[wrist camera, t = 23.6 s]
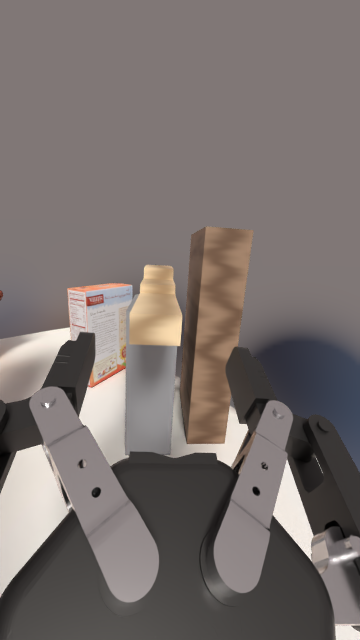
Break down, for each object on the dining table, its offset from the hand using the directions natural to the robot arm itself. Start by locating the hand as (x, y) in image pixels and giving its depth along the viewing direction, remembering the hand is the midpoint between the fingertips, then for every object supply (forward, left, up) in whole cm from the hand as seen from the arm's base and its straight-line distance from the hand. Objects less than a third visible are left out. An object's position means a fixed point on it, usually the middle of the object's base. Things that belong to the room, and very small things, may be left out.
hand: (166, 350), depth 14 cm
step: (-1, +22, -23) cm, 32 cm away
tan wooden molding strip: (-1, +17, -2) cm, 17 cm away
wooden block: (+8, +25, -23) cm, 35 cm away
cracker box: (-13, +41, -23) cm, 49 cm away
